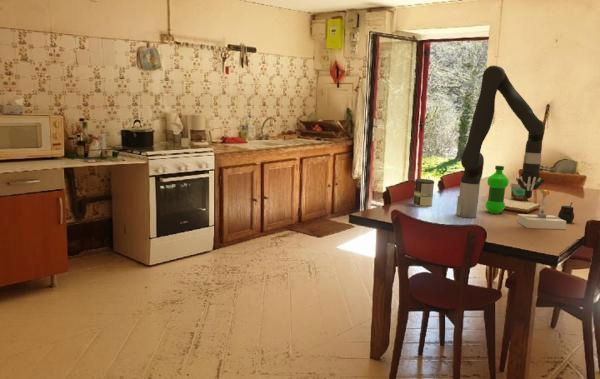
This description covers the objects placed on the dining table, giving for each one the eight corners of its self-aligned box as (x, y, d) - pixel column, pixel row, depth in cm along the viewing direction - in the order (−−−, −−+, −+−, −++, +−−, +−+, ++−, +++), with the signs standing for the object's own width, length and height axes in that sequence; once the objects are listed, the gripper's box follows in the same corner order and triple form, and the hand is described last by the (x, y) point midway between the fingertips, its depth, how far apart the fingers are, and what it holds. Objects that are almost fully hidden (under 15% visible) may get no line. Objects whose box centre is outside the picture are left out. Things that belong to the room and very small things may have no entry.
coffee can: (410, 205, 285) (412, 180, 283) (416, 202, 294) (418, 178, 291) (428, 208, 280) (431, 182, 277) (434, 205, 289) (436, 180, 286)
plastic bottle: (506, 212, 279) (511, 166, 274) (502, 215, 270) (508, 168, 266) (486, 209, 284) (491, 164, 279) (482, 212, 275) (487, 166, 270)
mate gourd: (555, 221, 262) (557, 202, 260) (560, 219, 267) (563, 200, 265) (570, 224, 257) (573, 204, 255) (575, 222, 262) (578, 203, 260)
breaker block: (527, 227, 244) (528, 219, 244) (516, 221, 256) (517, 213, 256) (565, 229, 245) (566, 221, 244) (552, 223, 257) (553, 215, 256)
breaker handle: (540, 217, 248) (544, 190, 245) (536, 215, 252) (539, 189, 250) (546, 218, 248) (550, 190, 245) (542, 216, 252) (546, 189, 250)
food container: (510, 200, 314) (512, 184, 313) (508, 198, 320) (510, 182, 319) (531, 202, 312) (533, 186, 310) (529, 200, 318) (531, 184, 316)
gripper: (542, 161, 249) (537, 197, 252) (514, 160, 249) (510, 196, 252) (549, 163, 241) (545, 200, 244) (521, 162, 241) (517, 199, 244)
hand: (527, 198), depth 248 cm, fingers closed
